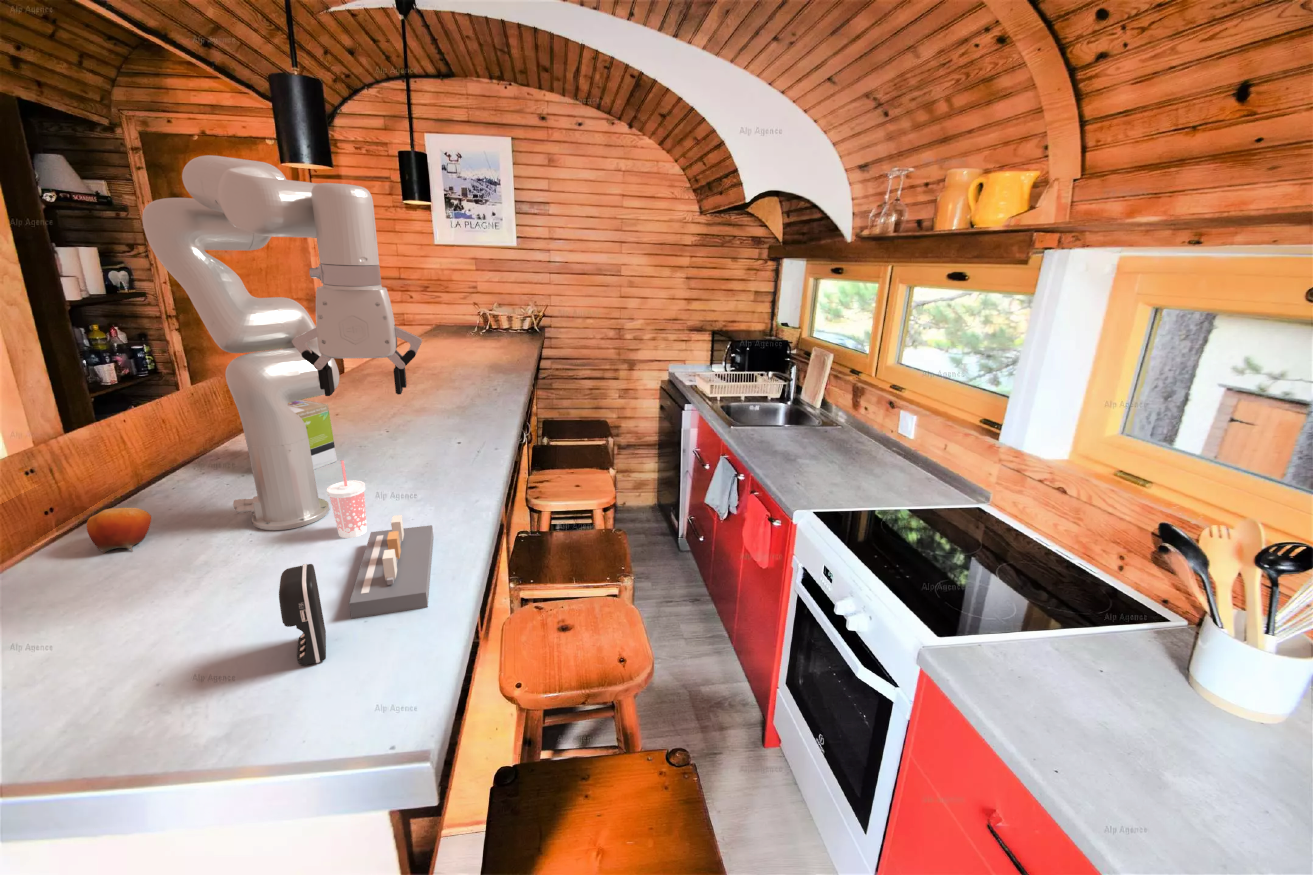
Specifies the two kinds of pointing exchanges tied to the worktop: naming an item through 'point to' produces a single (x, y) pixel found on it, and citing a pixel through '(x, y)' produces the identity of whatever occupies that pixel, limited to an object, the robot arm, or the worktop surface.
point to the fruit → (118, 528)
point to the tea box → (317, 430)
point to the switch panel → (410, 577)
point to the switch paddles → (393, 549)
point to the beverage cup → (348, 506)
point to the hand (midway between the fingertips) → (365, 393)
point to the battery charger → (303, 612)
